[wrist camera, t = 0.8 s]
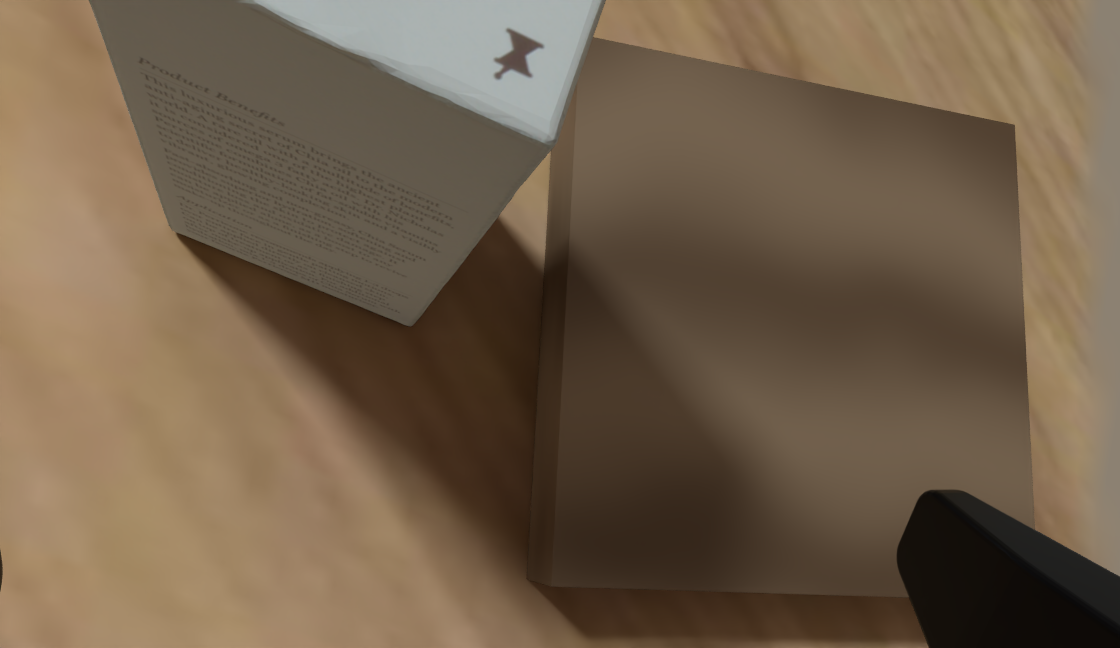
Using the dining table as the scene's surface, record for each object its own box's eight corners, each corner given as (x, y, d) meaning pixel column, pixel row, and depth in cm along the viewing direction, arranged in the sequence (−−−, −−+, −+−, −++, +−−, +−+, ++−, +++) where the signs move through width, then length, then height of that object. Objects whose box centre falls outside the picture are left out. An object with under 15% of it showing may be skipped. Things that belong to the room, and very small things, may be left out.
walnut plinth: (982, 594, 26) (1038, 601, 24) (526, 579, 22) (551, 586, 20) (964, 149, 28) (1014, 124, 26) (555, 70, 25) (580, 34, 23)
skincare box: (473, 177, 23) (666, -121, 12) (411, 332, 22) (562, 160, 11) (237, 71, 22) (210, -374, 11) (158, 230, 21) (36, -84, 10)
